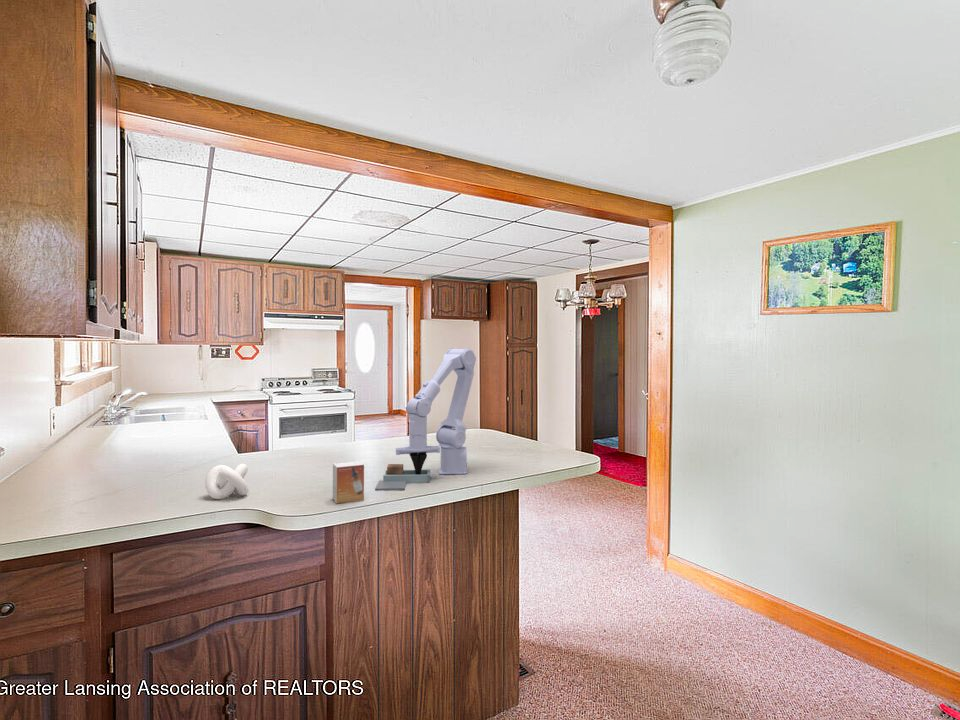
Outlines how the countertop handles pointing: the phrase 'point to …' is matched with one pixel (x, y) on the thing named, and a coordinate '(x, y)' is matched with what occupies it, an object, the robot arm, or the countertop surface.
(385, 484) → the coaster
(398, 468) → the block
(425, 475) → the u-shaped bracket
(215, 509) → the countertop surface
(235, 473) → the white knot sculpture
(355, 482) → the small box
